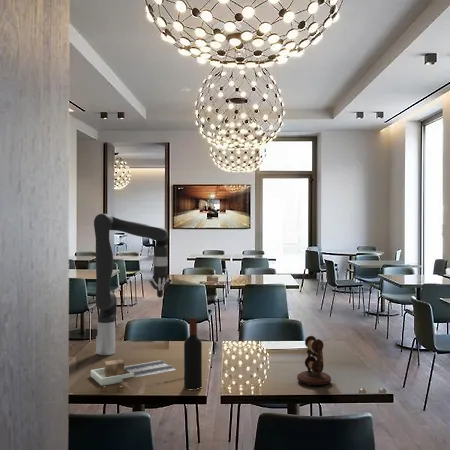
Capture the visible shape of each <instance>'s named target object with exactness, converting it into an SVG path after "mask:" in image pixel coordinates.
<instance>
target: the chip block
mask: <svg viewBox="0 0 450 450" xmlns="http://www.w3.org/2000/svg"><path fill="white" fill-rule="evenodd" d="M124 367H125V362H124V360H123V359H114V360H104V368H105V376H106V377H111V376H117V375H122V374H125V369H124Z"/></svg>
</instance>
